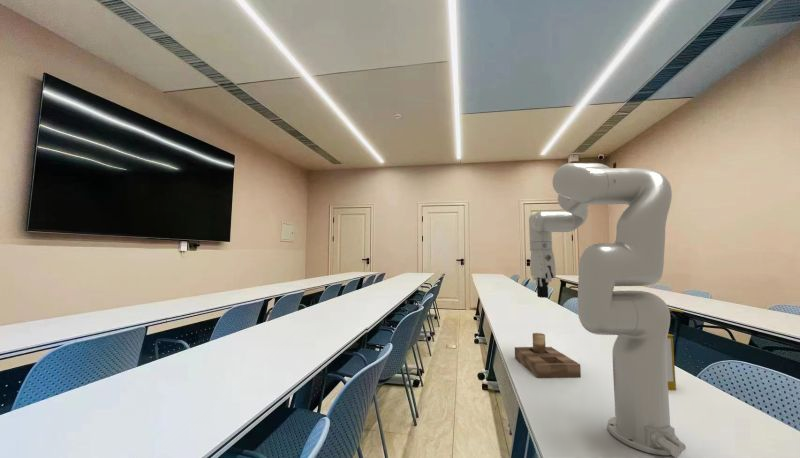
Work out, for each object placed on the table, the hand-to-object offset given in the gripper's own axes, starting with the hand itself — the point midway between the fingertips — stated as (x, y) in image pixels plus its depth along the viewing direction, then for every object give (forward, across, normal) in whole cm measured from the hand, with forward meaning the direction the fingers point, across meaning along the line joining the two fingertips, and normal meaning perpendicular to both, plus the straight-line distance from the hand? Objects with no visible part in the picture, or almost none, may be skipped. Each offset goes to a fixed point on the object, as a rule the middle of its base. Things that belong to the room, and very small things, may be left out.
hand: (542, 297), depth 112 cm
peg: (+24, +1, +2) cm, 24 cm away
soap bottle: (+24, -19, -27) cm, 41 cm away
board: (+24, -3, +2) cm, 24 cm away
